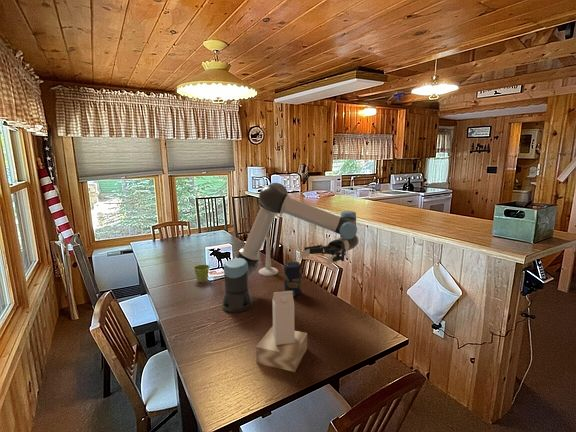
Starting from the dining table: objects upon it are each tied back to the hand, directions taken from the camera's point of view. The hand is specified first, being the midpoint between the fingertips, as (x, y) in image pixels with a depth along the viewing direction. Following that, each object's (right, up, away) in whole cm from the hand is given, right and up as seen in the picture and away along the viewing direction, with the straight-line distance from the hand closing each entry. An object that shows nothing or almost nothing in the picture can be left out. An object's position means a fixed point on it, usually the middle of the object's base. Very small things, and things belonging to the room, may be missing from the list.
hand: (313, 258), depth 135 cm
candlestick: (-24, -19, +73) cm, 79 cm away
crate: (-13, -36, -13) cm, 40 cm away
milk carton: (-13, -29, -14) cm, 35 cm away
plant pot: (-63, -22, +59) cm, 89 cm away
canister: (-8, -25, +41) cm, 48 cm away
